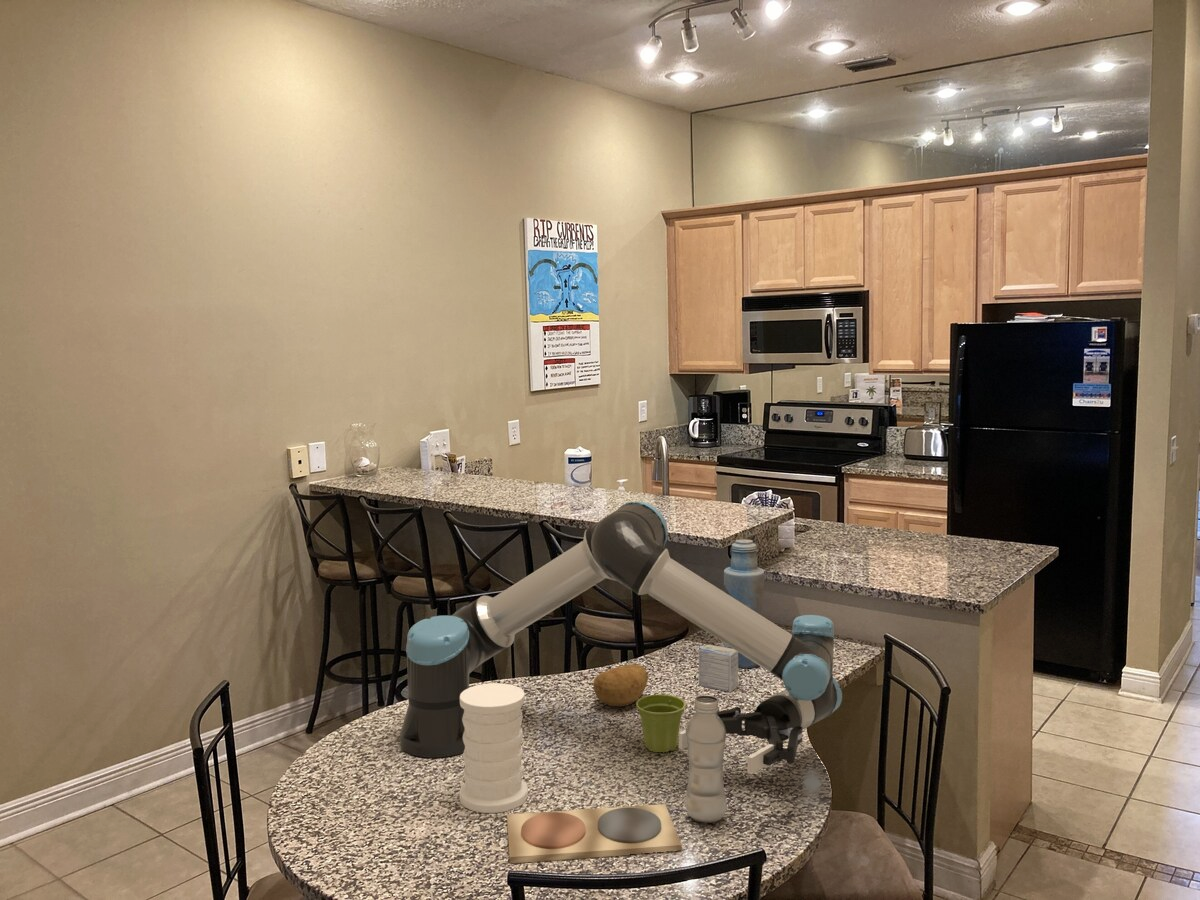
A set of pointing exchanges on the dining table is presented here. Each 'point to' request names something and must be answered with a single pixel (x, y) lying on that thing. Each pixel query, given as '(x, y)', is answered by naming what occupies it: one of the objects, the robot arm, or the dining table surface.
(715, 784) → the plastic bottle
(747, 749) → the dining table surface
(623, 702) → the potato
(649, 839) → the board
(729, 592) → the bottle
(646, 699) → the plant pot
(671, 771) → the dining table surface
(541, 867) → the dining table surface
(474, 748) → the decorative container
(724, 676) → the medicine box
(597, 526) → the robot arm
